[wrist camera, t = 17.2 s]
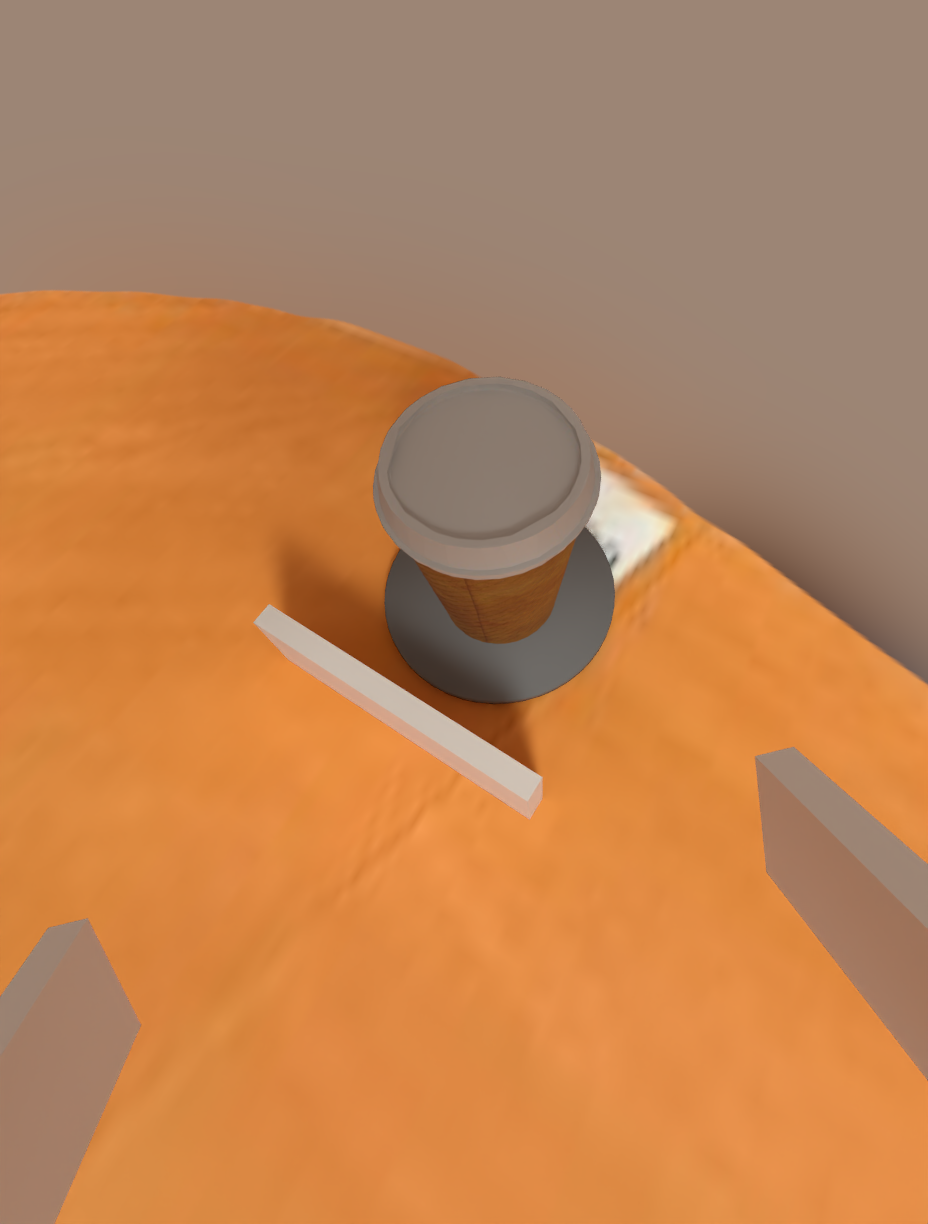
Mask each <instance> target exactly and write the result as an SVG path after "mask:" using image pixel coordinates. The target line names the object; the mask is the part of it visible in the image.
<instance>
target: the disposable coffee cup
mask: <svg viewBox="0 0 928 1224" xmlns="http://www.w3.org/2000/svg"><path fill="white" fill-rule="evenodd" d="M600 482H601V471H600V461H599V458H598V455H597V452H596V449H595V446H594V444H593V442H592V440H591V439H590V437H589V435H588V434H587V432H586V431H585V429H584V427H583V425H582V422H581V420H580V419H579V417H578V416H577V415H576V414H575V412H574V411H573V410H572V408H570V407H569V406H568V405H567V404H566V403H565V402H564V401H563V400H562V399H560V398H559V397H557V396H556V395H554V394H553V393H551V392H550V391H548V390H547V389H544V388H542V387H539V386H537V385H534V384H531V383H529V382H526V381H522V380H516V379H510V378H503V377H487V378H470V379H466V380H462V381H459V382H455V383H452V384H449V385H445V386H442V387H440V388H438V389H436V390H434V391H432V392H430V393H428V394H426V395H425V396H423V397H421V398H420V399H418V400H417V401H416V402H414V403H413V404H412V405H411V406H409V407H408V408H407V409H406V410H405V411H404V412H403V413H402V414H401V416H400V417H399V418H398V419H397V420H396V422H395V423H394V424H393V426H392V427H391V428H390V430H389V431H388V433H387V435H386V437H385V440H384V442H383V445H382V447H381V450H380V456H379V461H378V464H377V467H376V470H375V476H374V484H373V496H374V503H375V507H376V511H377V514H378V516H379V518H380V521H381V523H382V526H383V528H384V529H385V531H386V532H387V533H388V535H389V536H390V537H391V538H392V540H393V541H394V542H395V544H396V545H397V546H398V547H399V548H400V549H402V550H403V551H404V552H405V553H407V554H408V555H409V556H410V557H412V558H413V559H414V560H415V562H416V564H417V565H418V567H419V569H420V570H421V572H422V573H423V575H424V577H425V578H426V580H427V581H428V582H429V585H430V586H431V587H432V589H433V591H434V592H435V594H436V595H437V597H438V598H439V600H440V602H441V603H442V605H443V606H444V608H445V609H446V611H447V613H448V614H449V616H450V618H451V620H452V621H453V622H454V624H455V625H456V626H457V627H458V628H459V629H460V630H461V631H463V632H464V633H465V634H466V635H468V636H470V637H471V638H473V639H476V640H479V641H481V642H486V643H493V644H506V643H511V642H516V641H519V640H521V639H524V638H526V637H528V636H530V635H531V634H533V633H534V632H536V631H537V630H538V629H539V628H540V627H541V626H542V625H543V624H544V623H545V622H546V621H547V619H548V618H549V616H550V615H551V612H552V610H553V607H554V604H555V601H556V598H557V595H558V592H559V589H560V586H561V582H562V579H563V576H564V574H565V570H566V568H567V564H568V561H569V558H570V554H571V551H572V549H573V546H574V543H575V540H576V537H577V536H578V535H579V534H580V532H581V531H582V529H583V528H584V527H585V525H586V524H587V523H588V521H589V519H590V517H591V514H592V512H593V510H594V508H595V506H596V504H597V500H598V497H599V491H600Z"/></svg>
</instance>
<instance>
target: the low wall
mask: <svg viewBox="0 0 928 1224" xmlns="http://www.w3.org/2000/svg"><path fill="white" fill-rule="evenodd" d="M253 623H254V624H255V625H256V626H257V627H258V628H259V629H260V630H261V631H262V632H263V633H264V634H265V635H266V636H267V638H268V639H269V640H270V641H271V642H272V643H273V644H274V645H275V646H276V647H277V648H278V649H279V650H280V651H281V652H282V654H283V655H284V656H285V657H286V658H287V659H288V660H290V661H291V662H293V663H294V664H296V665H297V666H299V667H300V668H302V669H303V670H305V671H306V672H308V673H309V674H311V675H312V676H314V677H315V678H317V679H318V680H320V681H321V682H323V683H324V684H326V685H327V686H329V687H330V688H332V689H333V690H335V691H336V692H338V693H339V694H341V695H342V696H344V697H345V698H347V699H348V700H350V701H351V702H353V703H354V704H356V705H357V706H359V707H360V708H362V709H363V710H365V711H366V712H368V713H370V714H371V715H373V716H374V717H376V718H377V719H379V720H380V721H382V722H383V723H385V724H386V725H388V726H389V727H391V728H392V729H394V730H395V731H397V732H398V733H400V734H401V735H403V736H404V737H406V738H407V739H409V740H410V741H412V742H413V743H415V744H416V745H418V746H419V747H421V748H422V749H424V750H425V751H427V752H428V753H430V754H431V755H433V756H434V757H436V758H437V759H439V760H440V761H442V762H443V763H445V764H446V765H448V766H449V767H451V768H452V769H454V770H456V771H457V772H459V773H460V774H462V775H463V776H465V777H466V778H468V779H469V780H471V781H472V782H474V783H475V784H477V785H478V786H480V787H481V788H483V789H484V790H486V791H487V792H489V793H490V794H492V795H493V796H495V797H496V798H498V799H499V800H501V801H502V802H504V803H505V804H507V805H508V806H510V807H511V808H513V809H514V810H516V811H517V812H519V813H520V814H522V815H523V816H525V817H526V818H528V819H529V820H530V818H531V816H532V815H533V813H534V811H535V810H536V808H537V807H538V805H539V803H540V802H541V800H542V777H541V776H540V775H538V774H536V773H535V772H533V771H532V770H530V769H528V768H527V767H525V766H524V765H522V764H521V763H519V762H517V761H516V760H514V759H513V758H511V757H510V756H508V755H506V754H505V753H503V752H502V751H500V750H499V749H497V748H495V747H494V746H492V745H491V744H489V743H487V742H486V741H484V740H483V739H481V738H480V737H478V736H476V735H475V734H473V733H472V732H470V731H469V730H467V729H465V728H464V727H462V726H461V725H459V724H457V723H456V722H454V721H453V720H451V719H450V718H448V717H446V716H445V715H443V714H442V713H440V712H439V711H437V710H435V709H434V708H432V707H431V706H429V705H427V704H426V703H424V702H423V701H421V700H420V699H418V698H416V697H415V696H413V695H412V694H410V693H409V692H407V691H405V690H404V689H402V688H401V687H399V686H398V685H396V684H394V683H393V682H391V681H390V680H388V679H386V678H385V677H383V676H382V675H380V674H379V673H377V672H375V671H374V670H372V669H371V668H369V667H368V666H366V665H364V664H363V663H361V662H360V661H358V660H356V659H355V658H353V657H352V656H350V655H349V654H347V653H345V652H344V651H342V650H341V649H339V648H338V647H336V646H334V645H333V644H331V643H330V642H328V641H327V640H325V639H323V638H322V637H320V636H319V635H317V634H315V633H314V632H312V631H311V630H309V629H308V628H306V627H304V626H303V625H301V624H300V623H298V622H297V621H295V620H293V619H292V618H290V617H289V616H287V615H285V614H284V613H282V612H281V611H279V610H278V609H276V608H274V607H273V606H271V605H270V604H269V605H268V606H267V607H266V608H265V609H264V611H263V612H262V613H261V614H260V615H259V617H258V618H257V619H256V620H255V621H254V622H253Z"/></svg>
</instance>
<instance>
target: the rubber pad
mask: <svg viewBox="0 0 928 1224" xmlns="http://www.w3.org/2000/svg"><path fill="white" fill-rule="evenodd" d="M614 599H615V590H614V580H613V576H612V572H611V568H610V565H609V562H608V560H607V558H606V555H605V553H604V552H603V550H602V548H601V547H600V545H599V543H598V542H597V541H596V539H595V538H594V537H593V536H592V534H591V533H590V532H589V531H588V530H587V529H586V528H585V527H584V528H583V529H582V531H581V532H580V534H579V535H578V536H577V537H576V540H575V543H574V546H573V549H572V551H571V554H570V558H569V561H568V564H567V568H566V570H565V574H564V576H563V579H562V582H561V586H560V589H559V592H558V595H557V598H556V601H555V604H554V607H553V610H552V612H551V615H550V616H549V618H548V619H547V621H546V622H545V623H544V624H543V625H542V626H541V627H540V628H539V629H538V630H537V631H536V632H534V633H533V634H531V635H530V636H528V637H526V638H524V639H521V640H519V641H516V642H511V643H506V644H493V643H486V642H481V641H479V640H476V639H473V638H471V637H470V636H468V635H466V634H465V633H464V632H463V631H461V630H460V629H459V628H458V627H457V626H456V625H455V624H454V622H453V621H452V620H451V618H450V616H449V614H448V613H447V611H446V609H445V608H444V606H443V605H442V603H441V602H440V600H439V598H438V597H437V595H436V594H435V592H434V591H433V589H432V587H431V586H430V585H429V582H428V581H427V580H426V578H425V577H424V575H423V573H422V572H421V570H420V569H419V567H418V565H417V564H416V562H415V560H414V559H413V558H412V557H410V556H409V555H408V554H407V553H405V552H404V551H403V550H402V549H401V550H400V551H399V553H398V555H397V557H396V558H395V560H394V562H393V564H392V567H391V570H390V573H389V576H388V580H387V584H386V589H385V613H386V619H387V623H388V628H389V631H390V633H391V636H392V638H393V641H394V643H395V645H396V647H397V648H398V650H399V652H400V654H401V655H402V657H403V658H404V659H405V661H406V662H407V663H408V665H409V666H410V667H411V668H412V669H413V670H414V671H415V672H416V673H417V674H418V675H419V676H420V677H421V678H423V679H424V680H425V681H427V682H428V683H430V684H431V685H432V686H434V687H436V688H438V689H439V690H441V691H443V692H445V693H447V694H450V695H453V696H455V697H458V698H461V699H465V700H469V701H473V702H480V703H490V704H501V703H513V702H520V701H525V700H529V699H532V698H536V697H539V696H542V695H544V694H546V693H549V692H551V691H553V690H555V689H557V688H559V687H560V686H562V685H564V684H565V683H567V682H569V681H570V680H571V679H572V678H574V677H575V676H576V675H577V674H579V673H580V672H581V671H582V670H583V669H584V668H585V667H586V666H587V665H588V664H589V663H590V662H591V660H592V659H593V657H594V656H595V655H596V653H597V652H598V651H599V649H600V647H601V645H602V643H603V641H604V640H605V638H606V635H607V632H608V630H609V627H610V624H611V620H612V615H613V609H614Z"/></svg>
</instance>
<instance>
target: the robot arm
mask: <svg viewBox="0 0 928 1224" xmlns="http://www.w3.org/2000/svg"><path fill="white" fill-rule="evenodd" d="M755 761H756V771H757V781H758V791H759V801H760V812H761V822H762V832H763V842H764V852H765V862H766V872H767V873H768V875H769V876H770V877H771V879H772V880H773V881H774V882H775V884H776V885H777V886H778V888H779V889H780V890H781V891H782V893H783V894H784V895H785V897H786V898H787V899H788V900H789V902H790V903H791V904H792V906H793V907H794V908H795V910H796V911H797V912H798V913H799V915H800V916H801V917H802V919H803V920H804V921H805V922H806V924H807V925H808V926H809V928H810V929H811V930H812V932H813V933H814V934H815V935H816V937H817V938H818V939H819V941H820V942H821V943H822V944H823V946H824V947H825V948H826V950H827V951H828V952H829V953H830V955H831V956H832V957H833V959H834V960H835V961H836V963H837V964H838V965H839V966H840V968H841V969H842V970H843V972H844V973H845V974H846V975H847V977H848V978H849V979H850V981H851V982H852V983H853V984H854V986H855V987H856V988H857V990H858V991H859V992H860V994H861V995H862V996H863V997H864V999H865V1000H866V1001H867V1003H868V1004H869V1005H870V1006H871V1008H872V1009H873V1010H874V1012H875V1013H876V1014H877V1016H878V1017H879V1018H880V1019H881V1021H882V1022H883V1023H884V1025H885V1026H886V1027H887V1028H888V1030H889V1031H890V1032H891V1034H892V1035H893V1036H894V1037H895V1039H896V1040H897V1041H898V1043H899V1044H900V1045H901V1047H902V1048H903V1049H904V1050H905V1052H906V1053H907V1054H908V1056H909V1057H910V1058H911V1059H912V1061H913V1062H914V1063H915V1065H916V1066H917V1067H918V1068H919V1070H920V1071H921V1072H922V1074H923V1075H924V1076H925V1078H926V1079H927V1080H928V864H927V863H926V862H924V861H923V860H922V859H921V858H920V857H919V856H918V855H916V854H915V853H914V852H913V851H912V850H911V849H910V848H908V847H907V846H906V845H905V844H904V843H903V842H902V841H900V840H899V839H898V838H897V837H896V836H895V835H894V834H892V833H891V832H890V831H889V830H888V829H887V828H886V827H884V826H883V825H882V824H881V823H880V822H879V821H878V820H876V819H875V818H874V817H873V816H872V815H871V814H870V813H868V812H867V811H866V810H865V809H864V808H863V807H862V806H861V805H859V804H858V803H857V802H856V801H855V800H854V799H853V798H851V797H850V796H849V795H848V794H847V793H846V792H845V791H843V790H842V789H841V788H840V787H839V786H838V785H837V784H835V783H834V782H833V781H832V780H831V779H830V778H829V777H827V776H826V775H825V774H824V773H823V772H822V771H821V770H819V769H818V768H817V767H816V766H815V765H814V764H813V763H811V762H810V761H809V760H808V759H807V758H806V757H805V756H803V755H802V754H801V753H800V752H799V751H798V750H797V749H795V748H794V747H791V748H787V749H783V750H779V751H775V752H771V753H767V754H762V755H758V756H755ZM140 1026H141V1024H140V1022H139V1020H138V1018H137V1016H136V1014H135V1012H134V1010H133V1008H132V1006H131V1004H130V1002H129V1000H128V998H127V996H126V994H125V992H124V990H123V988H122V986H121V984H120V982H119V980H118V978H117V976H116V974H115V972H114V970H113V968H112V966H111V964H110V962H109V960H108V958H107V956H106V954H105V952H104V950H103V948H102V946H101V944H100V942H99V940H98V938H97V936H96V934H95V932H94V930H93V928H92V926H91V924H90V922H89V920H88V918H87V919H83V920H79V921H75V922H71V923H67V924H62V925H58V926H54V927H50V928H48V929H47V930H46V932H45V933H44V935H43V936H42V938H41V939H40V941H39V942H38V943H37V945H36V946H35V948H34V949H33V951H32V952H31V953H30V955H29V956H28V958H27V959H26V961H25V962H24V963H23V965H22V966H21V968H20V969H19V971H18V972H17V974H16V975H15V976H14V978H13V979H12V981H11V982H10V984H9V985H8V986H7V988H6V989H5V991H4V992H3V994H2V995H1V996H0V1224H54V1223H55V1221H56V1219H57V1217H58V1214H59V1212H60V1210H61V1207H62V1205H63V1203H64V1200H65V1198H66V1196H67V1194H68V1191H69V1189H70V1187H71V1184H72V1182H73V1180H74V1178H75V1175H76V1173H77V1171H78V1168H79V1166H80V1164H81V1161H82V1159H83V1157H84V1155H85V1152H86V1150H87V1148H88V1145H89V1143H90V1141H91V1139H92V1136H93V1134H94V1132H95V1129H96V1127H97V1125H98V1123H99V1120H100V1118H101V1116H102V1113H103V1111H104V1109H105V1106H106V1104H107V1102H108V1100H109V1097H110V1095H111V1093H112V1090H113V1088H114V1086H115V1084H116V1081H117V1079H118V1077H119V1074H120V1072H121V1070H122V1067H123V1065H124V1063H125V1061H126V1058H127V1056H128V1054H129V1051H130V1049H131V1047H132V1045H133V1042H134V1040H135V1038H136V1035H137V1033H138V1031H139V1029H140Z"/></svg>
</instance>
